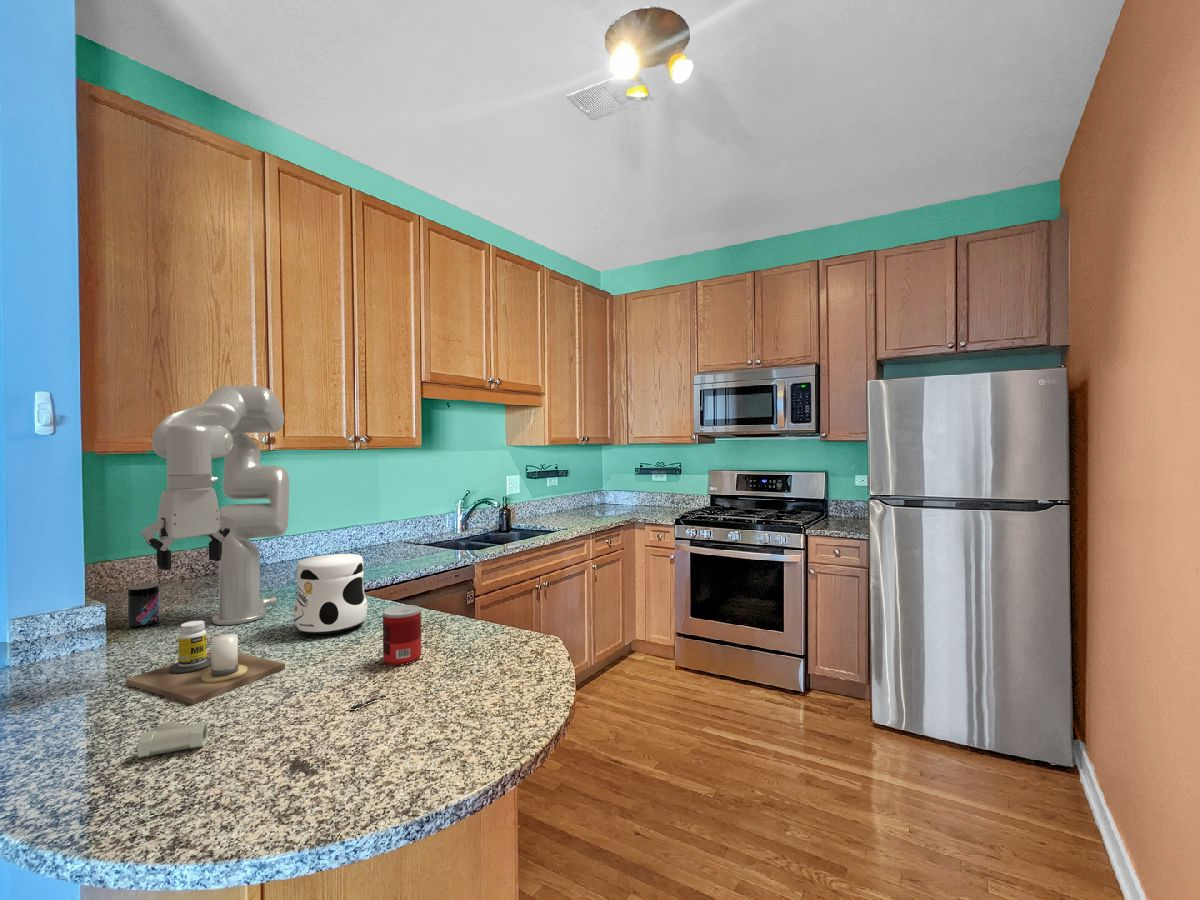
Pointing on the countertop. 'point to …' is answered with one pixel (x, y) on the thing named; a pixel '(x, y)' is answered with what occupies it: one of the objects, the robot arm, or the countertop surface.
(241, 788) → the countertop surface
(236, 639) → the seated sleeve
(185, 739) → the pipe fitting
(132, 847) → the countertop surface
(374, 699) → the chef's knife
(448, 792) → the countertop surface
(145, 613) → the supplement container
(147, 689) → the pin board
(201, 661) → the supplement bottle
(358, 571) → the milk container
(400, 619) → the canned food
